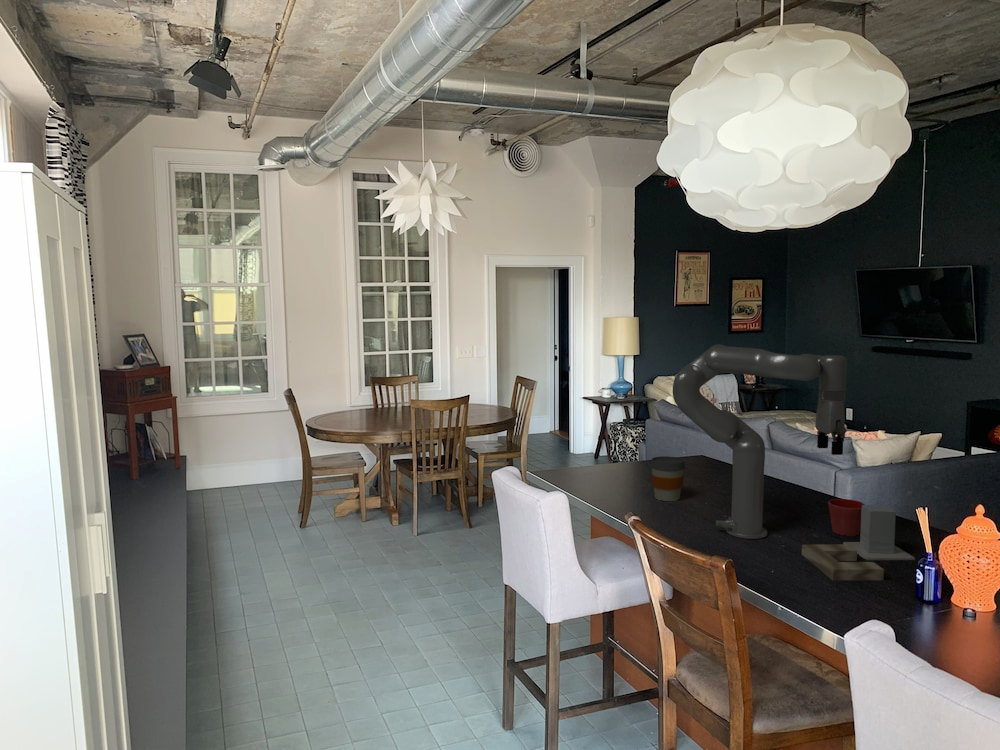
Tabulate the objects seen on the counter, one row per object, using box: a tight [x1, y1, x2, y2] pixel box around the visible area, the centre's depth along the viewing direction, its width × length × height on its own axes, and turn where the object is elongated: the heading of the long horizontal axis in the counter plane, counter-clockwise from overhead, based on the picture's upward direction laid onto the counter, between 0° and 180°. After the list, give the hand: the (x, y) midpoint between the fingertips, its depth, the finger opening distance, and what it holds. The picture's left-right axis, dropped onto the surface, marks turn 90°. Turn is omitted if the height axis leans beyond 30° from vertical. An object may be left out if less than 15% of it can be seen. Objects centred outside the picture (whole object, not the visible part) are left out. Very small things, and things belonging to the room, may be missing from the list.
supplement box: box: [859, 504, 897, 554], centre depth 216 cm, size 7×7×13 cm
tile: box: [842, 541, 916, 561], centre depth 217 cm, size 14×14×1 cm
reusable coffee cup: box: [650, 455, 686, 502], centre depth 275 cm, size 13×13×15 cm
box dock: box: [801, 543, 885, 582], centre depth 205 cm, size 14×20×3 cm
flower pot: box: [827, 498, 866, 537], centre depth 234 cm, size 11×11×10 cm
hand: (829, 451), depth 224 cm, fingers open, 9 cm apart
